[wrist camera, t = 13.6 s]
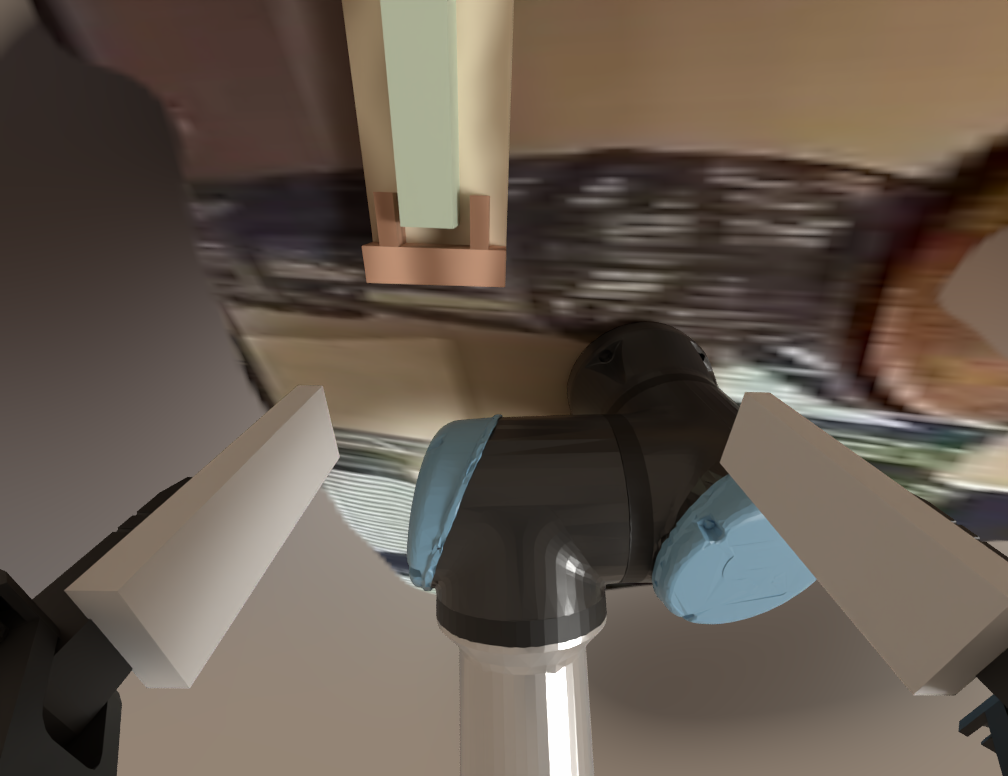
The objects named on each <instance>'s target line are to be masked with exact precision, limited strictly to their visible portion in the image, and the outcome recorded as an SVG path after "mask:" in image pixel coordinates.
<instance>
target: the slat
mask: <svg viewBox="0 0 1008 776" xmlns="http://www.w3.org/2000/svg"><path fill="white" fill-rule="evenodd" d="M380 5H381V16H382V27H383V38H384V49H385V60H386V71H387V82H388V93H389V104H390V116H391V127H392V138H393V149H394V160H395V171H396V182H397V193H398V204H399V215H400V226H401V227H422V228H447V229H454V228H455V227H457V226H458V225H460V182H459V129H458V76H457V23H456V0H380Z"/></svg>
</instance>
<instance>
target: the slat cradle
mask: <svg viewBox="0 0 1008 776" xmlns="http://www.w3.org/2000/svg"><path fill="white" fill-rule="evenodd" d="M342 6H343V13H344V21H345V29H346V37H347V44H348V52H349V60H350V67H351V75H352V83H353V91H354V98H355V106H356V114H357V121H358V129H359V137H360V144H361V152H362V160H363V168H364V175H365V183H366V191H367V198H368V206H369V214H370V222H371V229H372V237H373V242H371V243H368V244H365V245H363V246H362V252H363V259H364V266H365V273H366V280H367V283H390V284H422V285H453V286H484V287H505V271H506V230H507V198H508V167H509V136H510V105H511V73H512V42H513V11H514V0H456V23H457V76H458V129H459V182H460V225H458V226H457V227H455V228H454V229H447V228H422V227H401V226H400V215H399V204H398V193H397V182H396V171H395V160H394V149H393V138H392V127H391V116H390V104H389V93H388V82H387V71H386V60H385V49H384V38H383V27H382V16H381V5H380V0H342Z"/></svg>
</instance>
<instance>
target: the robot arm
mask: <svg viewBox="0 0 1008 776" xmlns="http://www.w3.org/2000/svg"><path fill="white" fill-rule="evenodd" d="M567 396H568V402H569V406H570V409H571V412H572V415H554V416H524V417H502V415H501V414H497V415H494V416H493V417H491V418H479V419H467V420H457V421H453V422H450V423H448V424H446V425H445V426H443V427H442V428H441V429H440V430H439V431H438V432H437V433H436V435H435V436H434V438H433V439H432V441H431V442H430V444H429V447H428V449H427V451H426V454H425V456H424V459H423V462H422V465H421V468H420V472H419V475H418V479H417V483H416V487H415V492H414V497H413V502H412V507H411V514H410V521H409V530H408V541H407V560H408V564H409V566H410V567H409V576H410V579H411V582H412V583H413V584H414V585H415V586H417V587H421V588H423V589H424V590H425V591H431V590H432V589H433V588H435V589H436V594H437V600H436V601H437V604H436V609H437V610H436V611H437V612H436V616H437V623H438V626H439V628H440V629H441V631H442V632H443V633H444V634H445V635H446V636H447V637H448V638H449V639H451V640H452V641H453V642H454V643H455V644H456V645H457V646H458V647H459V663H460V664H459V675H460V676H459V677H460V679H459V682H460V776H594V765H593V750H592V734H591V719H590V705H589V689H588V673H587V658H586V645H587V644H588V643H589V641H591V640H592V639H593V638H594V637H595V636H596V635H597V634H598V633H599V632H600V631H601V630H602V628H603V627H604V625H605V623H606V617H607V611H606V597H605V586H606V584H610V583H626V582H638V583H639V582H652V583H653V588H654V591H655V593H656V595H657V597H658V598H659V599H660V600H661V601H662V602H663V603H664V605H665V606H666V607H667V608H668V609H669V611H670V612H672V613H674V614H675V615H677V616H679V617H683V618H684V619H685V620H688V621H690V622H694V623H700V624H701V623H702V624H722V623H729V622H734V621H738V620H743V619H746V618H750V617H753V616H756V615H759V614H761V613H764V612H767V611H769V610H771V609H773V608H775V607H777V606H779V605H781V604H783V603H785V602H787V601H788V600H790V599H791V598H792V597H794V596H796V595H798V594H799V593H801V592H802V591H803V590H805V589H806V588H807V587H809V586H810V585H811V584H812V583H813V582H814V581H816V580H818V581H819V583H820V584H821V585H822V586H823V587H824V589H825V590H826V591H827V592H828V593H829V595H830V596H831V597H832V598H833V599H834V601H835V602H836V603H837V604H838V605H839V607H840V608H841V609H842V610H843V611H844V613H845V614H846V615H847V616H848V617H849V618H850V620H851V621H852V622H853V623H854V624H855V626H856V627H857V628H858V629H859V630H860V632H861V633H862V634H863V635H864V637H865V638H866V639H867V640H868V641H869V642H870V644H871V645H872V646H873V647H874V648H875V650H876V651H877V652H878V653H879V655H880V656H881V657H882V658H883V659H884V661H885V662H886V663H887V664H888V665H889V666H890V668H891V669H892V670H893V671H894V673H896V675H897V676H898V677H899V679H900V680H901V681H902V682H903V683H904V685H905V686H906V687H907V688H908V689H909V691H910V692H911V693H912V694H913V695H956V694H957V693H958V692H959V691H961V690H962V689H963V688H964V687H965V686H966V685H968V684H969V683H970V682H971V681H972V680H974V679H975V678H976V677H977V678H978V679H979V680H980V681H981V682H982V683H983V684H984V685H985V686H986V687H987V688H988V689H989V690H990V691H991V692H992V693H993V695H992V696H991V697H990V698H988V699H987V700H986V701H985V702H983V703H982V704H981V705H980V706H978V707H977V708H976V709H974V710H973V711H972V712H971V713H969V714H968V715H967V716H966V717H964V718H963V719H962V720H960V721H959V732H960V733H962V734H964V735H965V736H969V735H971V734H972V733H973V732H975V731H976V730H978V729H979V728H980V727H981V726H986V727H989V728H990V732H991V734H990V735H989V736H988V737H986V738H985V739H984V740H983V741H982V742H981V745H983V746H985V747H986V748H988V749H990V750H992V751H994V752H995V753H996V754H997V757H998V760H999V764H1000V768H1001V771H1002V775H1003V776H1008V557H1007V556H1005V555H1004V554H1002V553H1001V552H1000V551H998V550H997V549H995V548H994V547H992V546H991V545H990V544H988V543H987V542H981V541H980V540H979V538H980V537H978V536H977V535H975V534H974V533H972V532H971V531H970V530H968V529H967V528H965V527H964V526H962V525H957V524H956V521H955V520H954V519H953V518H951V517H950V516H948V515H947V514H945V513H944V512H943V511H941V510H940V509H938V508H937V507H935V506H934V505H933V504H931V503H930V502H928V501H926V500H924V499H922V498H920V497H918V496H916V495H914V494H912V493H911V492H909V491H907V490H906V489H905V488H903V487H902V486H900V485H899V484H898V483H896V482H895V481H893V480H892V479H891V478H889V477H888V476H886V475H885V474H884V473H882V472H881V471H879V470H878V469H876V468H875V467H874V466H872V465H871V464H869V463H868V462H867V461H865V460H864V459H862V458H861V457H860V456H858V455H857V454H855V453H854V452H853V451H851V450H850V449H848V448H847V447H846V446H844V445H843V444H841V443H840V442H838V441H837V440H836V439H834V438H833V437H831V436H830V435H829V434H827V433H826V432H824V431H823V430H822V429H820V428H819V427H817V426H816V425H815V424H813V423H812V422H810V421H809V420H808V419H806V418H805V417H803V416H802V415H801V414H799V413H798V412H796V411H795V410H793V409H792V408H791V407H789V406H788V405H786V404H785V403H784V402H782V401H781V400H779V399H778V398H777V397H775V396H774V395H772V394H771V393H763V392H745V394H744V397H743V400H742V403H741V405H740V406H739V405H738V404H737V403H735V402H734V401H733V400H732V399H731V398H730V397H728V396H727V395H726V394H725V393H724V392H723V391H722V390H721V389H719V387H718V384H717V382H716V379H715V376H714V373H713V371H712V367H711V364H710V362H709V359H708V357H707V356H706V354H705V352H704V351H703V350H702V348H701V347H700V346H699V345H698V344H697V343H696V342H695V341H693V340H692V339H691V338H690V337H688V336H687V335H686V334H684V333H683V332H681V331H680V330H678V329H676V328H674V327H672V326H669V325H666V324H661V323H655V322H638V323H632V324H627V325H624V326H621V327H618V328H615V329H613V330H611V331H609V332H607V333H605V334H603V335H602V336H600V337H599V338H597V339H596V340H595V341H594V342H592V343H591V344H590V345H589V346H588V347H587V348H586V349H585V350H584V351H583V353H582V354H581V355H580V356H579V358H578V359H577V361H576V363H575V364H574V366H573V369H572V371H571V374H570V377H569V381H568V388H567ZM339 457H340V456H339V452H338V448H337V443H336V439H335V435H334V431H333V426H332V422H331V418H330V414H329V410H328V405H327V401H326V397H325V393H324V388H323V385H297V386H296V387H295V388H294V389H293V390H292V391H291V392H289V393H288V394H287V395H286V396H285V397H284V398H283V399H281V400H280V401H279V402H278V403H277V404H276V405H275V406H273V407H272V408H271V409H270V410H269V411H268V412H267V413H266V414H264V415H263V416H262V417H261V418H260V419H259V420H258V421H256V423H254V424H253V425H252V426H251V427H250V428H249V429H247V430H246V431H245V432H244V433H243V434H242V435H241V436H240V437H238V438H237V439H236V440H235V441H234V442H233V443H232V444H230V445H229V446H228V447H227V448H226V449H225V450H223V451H222V452H221V453H220V454H219V455H218V456H217V457H216V458H214V459H213V460H212V461H211V462H210V463H209V464H208V465H206V466H205V467H204V468H203V469H202V470H201V471H200V472H198V473H197V474H196V475H195V476H194V477H187V478H185V479H183V480H181V481H180V482H178V483H176V484H174V485H173V486H171V487H169V488H167V489H165V490H164V491H162V492H160V493H159V494H157V495H156V496H155V497H154V498H153V499H152V500H151V501H149V502H148V503H147V504H146V505H144V506H143V507H142V508H141V509H140V510H139V511H137V515H136V516H131V517H130V518H129V519H128V520H127V521H125V522H124V523H123V524H122V525H121V526H119V527H118V531H117V532H112V533H111V534H110V535H109V536H108V537H106V538H105V539H104V540H103V541H102V542H100V543H99V544H98V545H97V546H95V547H94V548H93V549H92V550H91V551H90V552H89V553H87V554H86V555H85V556H84V557H82V558H81V559H80V560H79V561H78V562H77V563H75V564H74V565H73V566H72V567H70V568H69V569H68V570H67V571H66V572H64V573H63V574H62V575H61V576H60V577H59V578H57V579H56V580H55V581H54V582H53V583H51V584H50V585H49V586H48V587H47V588H45V589H44V590H43V591H42V592H41V593H40V594H38V595H37V596H36V597H35V598H34V599H31V598H30V597H29V596H28V595H27V594H26V593H25V591H24V590H23V589H22V588H21V587H20V586H19V585H18V584H17V583H16V582H15V581H14V580H13V579H12V577H11V576H10V575H9V574H8V573H7V572H5V571H3V570H1V569H0V776H117V763H118V750H119V734H120V722H121V708H122V703H121V699H120V695H119V693H118V692H117V690H116V689H117V688H118V687H119V685H120V684H121V683H122V682H123V681H124V679H125V678H126V677H127V676H128V674H129V673H130V672H131V671H133V672H134V673H135V675H136V676H137V677H138V678H139V679H140V681H141V682H142V683H143V684H144V685H145V686H146V688H190V687H191V685H192V684H193V682H194V681H195V679H196V678H197V676H198V675H199V673H200V672H201V670H202V669H203V667H204V665H205V664H206V662H207V661H208V659H209V658H210V656H211V655H212V653H213V652H214V650H215V648H216V647H217V645H218V644H219V642H220V641H221V639H222V638H223V636H224V635H225V633H226V632H227V630H228V628H229V627H230V625H231V624H232V622H233V621H234V619H235V618H236V616H237V614H238V613H239V612H240V610H241V608H242V606H243V605H244V604H245V602H246V601H247V599H248V598H249V596H250V595H251V593H252V591H253V590H254V588H255V587H256V585H257V584H258V582H259V581H260V579H261V578H262V576H263V575H264V573H265V571H266V570H267V568H268V567H269V565H270V564H271V562H272V561H273V559H274V557H275V556H276V554H277V553H278V551H279V550H280V548H281V547H282V545H283V544H284V542H285V541H286V539H287V538H288V536H289V534H290V533H291V531H292V530H293V528H294V527H295V525H296V523H297V522H298V520H299V519H300V518H301V516H302V514H303V513H304V511H305V510H306V508H307V507H308V505H309V504H310V502H311V501H312V499H313V497H314V496H315V494H316V493H317V491H318V490H319V488H320V487H321V485H322V484H323V482H324V481H325V479H326V477H327V476H328V474H329V473H330V471H331V470H332V468H333V467H334V465H335V464H336V462H337V461H338V459H339Z"/></svg>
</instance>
